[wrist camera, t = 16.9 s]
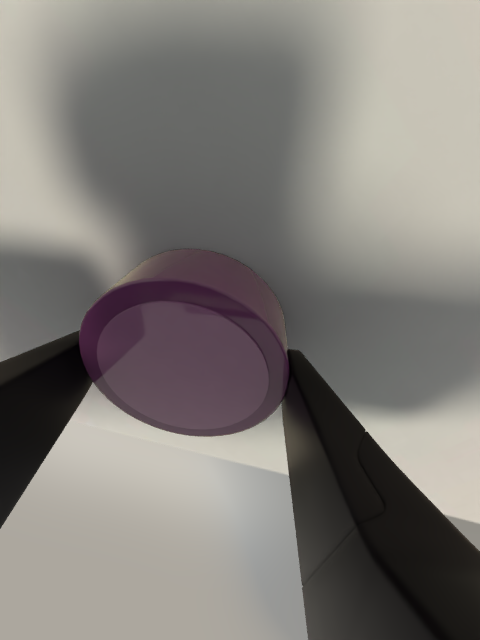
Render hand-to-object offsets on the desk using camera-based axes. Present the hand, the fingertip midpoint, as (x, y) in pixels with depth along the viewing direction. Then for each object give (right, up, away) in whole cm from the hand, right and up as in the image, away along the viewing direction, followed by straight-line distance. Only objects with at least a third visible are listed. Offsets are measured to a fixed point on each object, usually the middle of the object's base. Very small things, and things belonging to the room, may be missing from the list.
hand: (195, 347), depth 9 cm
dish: (0, +1, +1) cm, 1 cm away
